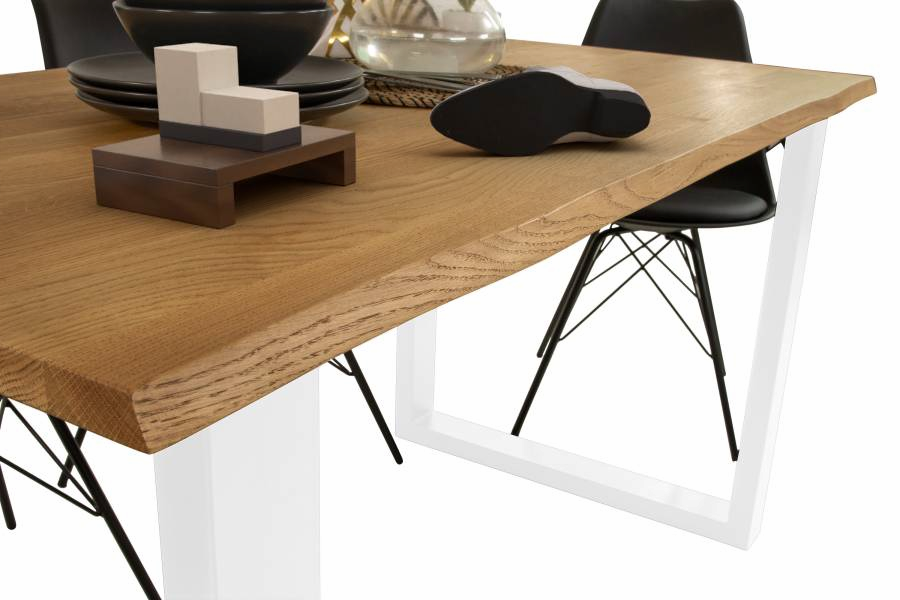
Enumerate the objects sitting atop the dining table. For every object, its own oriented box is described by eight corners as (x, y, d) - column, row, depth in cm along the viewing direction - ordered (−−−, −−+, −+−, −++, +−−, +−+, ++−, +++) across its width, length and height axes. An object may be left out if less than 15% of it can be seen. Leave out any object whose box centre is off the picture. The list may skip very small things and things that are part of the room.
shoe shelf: (356, 182, 99) (355, 131, 97) (219, 229, 82) (216, 168, 81) (244, 164, 105) (242, 116, 103) (96, 204, 89) (90, 148, 87)
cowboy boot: (672, 82, 114) (587, 58, 137) (439, 63, 106) (389, 41, 129) (658, 164, 117) (577, 127, 140) (430, 152, 109) (383, 115, 132)
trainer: (302, 142, 92) (299, 52, 89) (263, 152, 87) (259, 58, 84) (201, 127, 97) (196, 42, 94) (159, 136, 92) (152, 47, 90)
